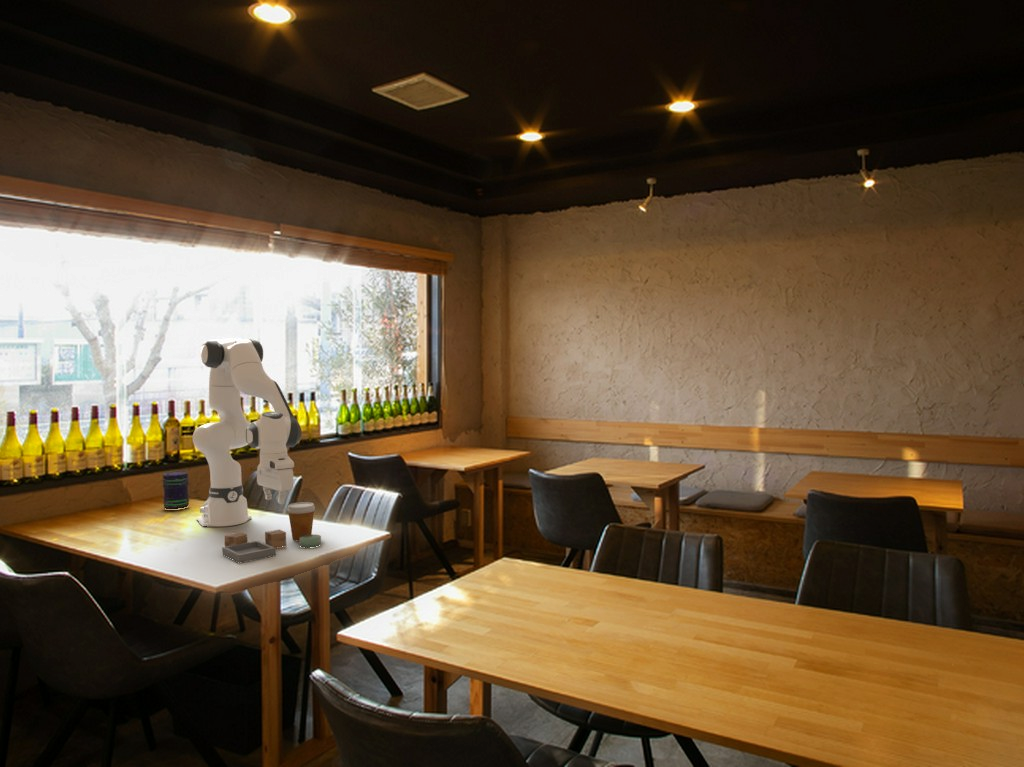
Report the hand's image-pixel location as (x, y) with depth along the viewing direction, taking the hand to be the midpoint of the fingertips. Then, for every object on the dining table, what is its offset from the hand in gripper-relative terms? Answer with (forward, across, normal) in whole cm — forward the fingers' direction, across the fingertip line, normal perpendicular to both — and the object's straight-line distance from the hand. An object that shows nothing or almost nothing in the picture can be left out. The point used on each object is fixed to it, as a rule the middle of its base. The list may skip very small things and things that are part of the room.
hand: (274, 501), depth 248 cm
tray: (+15, +4, -11) cm, 19 cm away
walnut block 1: (+15, -6, -11) cm, 20 cm away
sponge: (+15, +7, +9) cm, 19 cm away
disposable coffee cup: (+15, -3, +11) cm, 19 cm away
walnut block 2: (+15, 0, 0) cm, 15 cm away
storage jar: (+15, -87, -3) cm, 88 cm away
